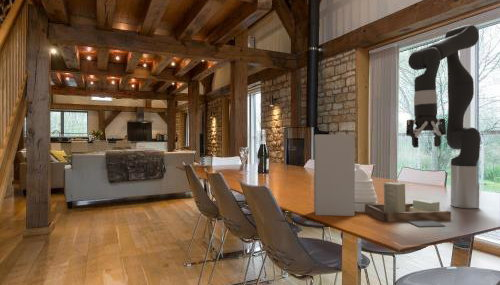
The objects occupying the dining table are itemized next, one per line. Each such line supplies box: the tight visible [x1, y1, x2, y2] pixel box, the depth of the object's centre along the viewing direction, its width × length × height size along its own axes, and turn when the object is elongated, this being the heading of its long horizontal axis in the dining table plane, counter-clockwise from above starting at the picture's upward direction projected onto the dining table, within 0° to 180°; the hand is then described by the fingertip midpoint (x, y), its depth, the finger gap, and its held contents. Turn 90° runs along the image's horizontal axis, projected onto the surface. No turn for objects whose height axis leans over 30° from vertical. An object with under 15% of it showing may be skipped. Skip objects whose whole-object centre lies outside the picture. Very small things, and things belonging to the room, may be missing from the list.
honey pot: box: [355, 163, 378, 213], centre depth 133 cm, size 13×13×18 cm
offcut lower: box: [410, 207, 441, 212], centre depth 120 cm, size 7×9×3 cm
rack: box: [364, 203, 452, 223], centre depth 120 cm, size 24×15×3 cm, turn 95°
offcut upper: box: [412, 198, 441, 211], centre depth 120 cm, size 5×7×3 cm
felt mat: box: [405, 220, 446, 228], centre depth 108 cm, size 9×7×1 cm
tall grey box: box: [313, 134, 356, 217], centre depth 123 cm, size 14×6×30 cm, turn 84°
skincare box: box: [383, 181, 406, 212], centre depth 120 cm, size 6×4×12 cm
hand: (426, 147), depth 121 cm, fingers open, 8 cm apart
